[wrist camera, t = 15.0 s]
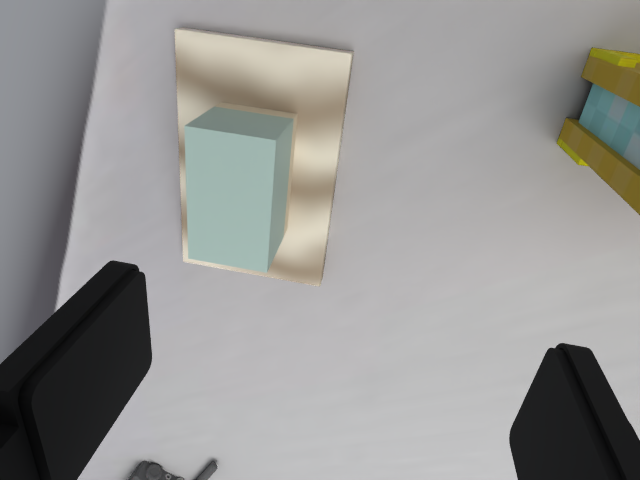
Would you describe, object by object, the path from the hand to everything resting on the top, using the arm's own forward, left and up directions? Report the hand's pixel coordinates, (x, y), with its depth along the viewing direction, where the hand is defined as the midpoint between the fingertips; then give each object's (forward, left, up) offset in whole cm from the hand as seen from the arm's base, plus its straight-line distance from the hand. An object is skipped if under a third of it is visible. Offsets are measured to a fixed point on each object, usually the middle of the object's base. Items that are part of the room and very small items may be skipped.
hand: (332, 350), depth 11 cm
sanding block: (+7, -9, -27) cm, 29 cm away
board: (+7, -9, -28) cm, 31 cm away
